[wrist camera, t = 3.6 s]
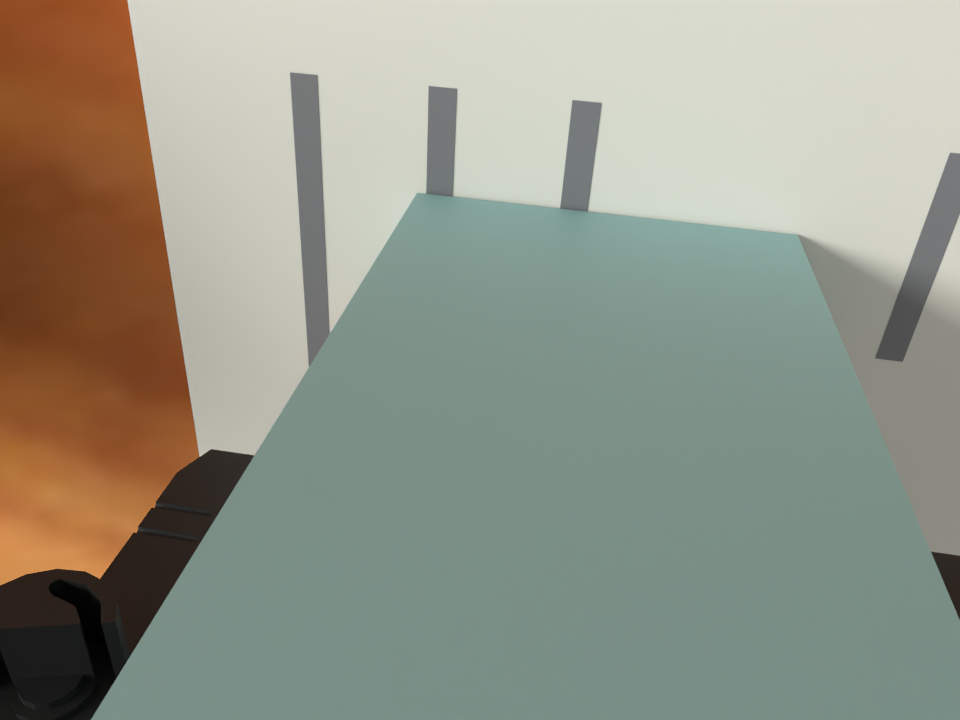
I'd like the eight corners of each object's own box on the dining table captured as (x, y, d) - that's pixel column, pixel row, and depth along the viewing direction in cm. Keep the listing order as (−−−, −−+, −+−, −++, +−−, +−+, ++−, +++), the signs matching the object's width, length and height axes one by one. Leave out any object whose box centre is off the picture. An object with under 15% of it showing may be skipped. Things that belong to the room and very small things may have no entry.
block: (717, 523, 15) (828, 1421, 6) (412, 478, 15) (143, 1250, 7) (797, 235, 12) (1200, 1190, 3) (417, 192, 12) (-39, 928, 4)
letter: (908, 667, 16) (912, 676, 16) (220, 555, 18) (215, 562, 18) (1245, 5, 10) (1255, 8, 10) (122, -85, 11) (113, -84, 11)
